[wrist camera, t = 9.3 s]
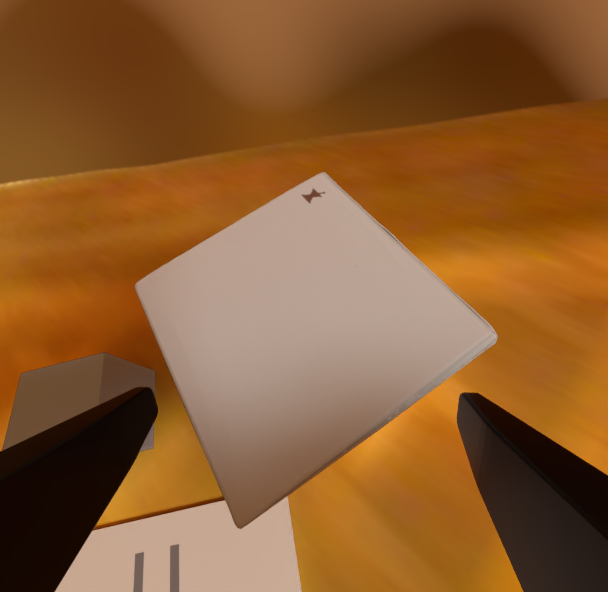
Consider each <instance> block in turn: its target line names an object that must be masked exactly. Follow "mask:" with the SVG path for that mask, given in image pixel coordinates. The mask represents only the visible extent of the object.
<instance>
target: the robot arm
mask: <svg viewBox="0 0 608 592" xmlns="http://www.w3.org/2000/svg"><path fill="white" fill-rule="evenodd" d="M157 414H158V407H157V403H156V400H155V396H154V393H153V390H152V389H151V388H150V387H136V388H133V389H131V390H129V391H127V392H125V393H123V394H121V395H119V396H116V397H114V398H112V399H110V400H108V401H106V402H104V403H102V404H100V405H97V406H95V407H93V408H91V409H89V410H87V411H85V412H83V413H81V414H78V415H76V416H74V417H72V418H70V419H68V420H66V421H64V422H62V423H59V424H57V425H55V426H53V427H51V428H49V429H47V430H45V431H43V432H40V433H38V434H36V435H34V436H32V437H30V438H28V439H26V440H24V441H21V442H19V443H17V444H15V445H13V446H11V447H9V448H7V449H5V450H2V451H0V592H55V591H56V589H57V588H58V586H59V584H60V583H61V581H62V579H63V578H64V576H65V574H66V573H67V571H68V570H69V568H70V566H71V565H72V563H73V561H74V560H75V558H76V557H77V555H78V553H79V552H80V550H81V548H82V547H83V545H84V543H85V542H86V540H87V539H88V537H89V535H90V534H91V532H92V530H93V529H94V527H95V526H96V524H97V522H98V521H99V519H100V517H101V516H102V514H103V513H104V511H105V509H106V508H107V506H108V504H109V503H110V501H111V499H112V498H113V496H114V495H115V493H116V491H117V490H118V488H119V486H120V485H121V483H122V482H123V480H124V478H125V477H126V475H127V473H128V472H129V470H130V468H131V467H132V465H133V463H134V461H135V459H136V457H137V455H138V453H139V451H140V449H141V447H142V445H143V443H144V441H145V439H146V437H147V435H148V433H149V431H150V429H151V427H152V425H153V423H154V421H155V419H156V417H157ZM457 424H458V428H459V431H460V435H461V438H462V441H463V444H464V447H465V450H466V453H467V456H468V459H469V462H470V466H471V469H472V472H473V475H474V478H475V481H476V484H477V486H478V489H479V491H480V493H481V496H482V498H483V500H484V503H485V505H486V507H487V510H488V512H489V514H490V516H491V519H492V521H493V523H494V525H495V528H496V530H497V532H498V535H499V537H500V539H501V541H502V544H503V546H504V548H505V550H506V553H507V555H508V557H509V560H510V562H511V564H512V566H513V569H514V571H515V573H516V575H517V578H518V580H519V582H520V584H521V587H522V589H523V591H524V592H608V475H606V474H605V473H603V472H602V471H600V470H598V469H597V468H595V467H594V466H592V465H591V464H589V463H587V462H586V461H584V460H583V459H581V458H579V457H578V456H576V455H575V454H573V453H572V452H570V451H568V450H567V449H565V448H564V447H562V446H561V445H559V444H557V443H556V442H554V441H553V440H551V439H550V438H548V437H546V436H545V435H543V434H542V433H540V432H539V431H537V430H535V429H534V428H532V427H531V426H529V425H528V424H526V423H524V422H523V421H521V420H520V419H518V418H517V417H515V416H513V415H512V414H510V413H509V412H507V411H506V410H504V409H502V408H501V407H499V406H498V405H496V404H495V403H493V402H491V401H490V400H488V399H487V398H485V397H484V396H482V395H480V394H479V393H461V394H460V397H459V404H458V412H457Z"/></svg>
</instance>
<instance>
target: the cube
mask: <svg viewBox="0 0 608 592" xmlns="http://www.w3.org/2000/svg"><path fill="white" fill-rule="evenodd" d="M155 373H156V371H154V370H152V369H149V368H146V367H143V366H141V365H138V364H135V363H133V362H130V361H127V360H124V359H122V358H119V357H116V356H113V355H111V354H108V353H105V352H104V353H100V354H96V355H92V356H88V357H84V358H80V359H76V360H72V361H68V362H64V363H60V364H56V365H52V366H48V367H44V368H40V369H36V370H32V371H28V372H24V373H21V375H20V379H19V383H18V387H17V391H16V396H15V400H14V404H13V408H12V412H11V416H10V420H9V424H8V428H7V432H6V437H5V441H4V445H3V449H2V450H5V449H7V448H9V447H11V446H13V445H15V444H17V443H19V442H21V441H24V440H26V439H28V438H30V437H32V436H34V435H36V434H38V433H40V432H43V431H45V430H47V429H49V428H51V427H53V426H55V425H57V424H59V423H62V422H64V421H66V420H68V419H70V418H72V417H74V416H76V415H78V414H81V413H83V412H85V411H87V410H89V409H91V408H93V407H95V406H97V405H100V404H102V403H104V402H106V401H108V400H110V399H112V398H114V397H116V396H119V395H121V394H123V393H125V392H127V391H129V390H131V389H133V388H136V387H150V388H151V389H152V390H153V393H154V396H155ZM153 443H154V423H153V425H152V427H151V429H150V431H149V433H148V435H147V437H146V439H145V441H144V443H143V445H142V447H141V449H140V451H144V450H148V449H153ZM140 451H139V452H140Z"/></svg>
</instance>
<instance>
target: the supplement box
mask: <svg viewBox="0 0 608 592" xmlns="http://www.w3.org/2000/svg"><path fill="white" fill-rule="evenodd" d="M134 288H135V290H136V293H137V295H138V298H139V300H140V302H141V305H142V307H143V310H144V312H145V314H146V317H147V319H148V322H149V324H150V327H151V329H152V331H153V334H154V336H155V338H156V341H157V343H158V345H159V348H160V350H161V353H162V355H163V357H164V360H165V362H166V364H167V367H168V369H169V371H170V374H171V376H172V378H173V381H174V383H175V385H176V388H177V390H178V392H179V395H180V397H181V400H182V402H183V404H184V407H185V409H186V411H187V414H188V416H189V418H190V421H191V423H192V425H193V428H194V430H195V432H196V434H197V437H198V439H199V441H200V444H201V446H202V448H203V450H204V453H205V455H206V457H207V460H208V462H209V464H210V466H211V469H212V471H213V473H214V476H215V478H216V480H217V483H218V485H219V488H220V490H221V492H222V495H223V497H224V499H225V501H226V503H227V506H228V508H229V511H230V513H231V516H232V518H233V521H234V523H235V525H236V527H237V528H239V529H242V528H243V527H245V526H246V525H248V524H249V523H251V522H252V521H254V520H255V519H256V518H258V517H259V516H260V515H262V514H263V513H265V512H266V511H267V510H269V509H270V508H272V507H273V506H274V505H276V504H277V503H279V502H280V501H281V500H283V499H284V498H285V497H287V496H288V495H290V494H291V493H292V492H294V491H295V490H297V489H298V488H299V487H301V486H302V485H303V484H305V483H306V482H308V481H309V480H310V479H312V478H313V477H315V476H316V475H317V474H319V473H320V472H322V471H323V470H324V469H326V468H327V467H328V466H330V465H331V464H333V463H334V462H335V461H337V460H338V459H339V458H341V457H342V456H344V455H345V454H346V453H348V452H349V451H350V450H352V449H353V448H355V447H356V446H357V445H359V444H360V443H362V442H363V441H364V440H366V439H367V438H368V437H370V436H371V435H373V434H374V433H375V432H377V431H378V430H379V429H381V428H382V427H384V426H385V425H386V424H388V423H389V422H390V421H392V420H393V419H394V418H396V417H397V416H398V415H400V414H401V413H402V412H404V411H405V410H406V409H408V408H409V407H410V406H412V405H413V404H414V403H416V402H417V401H418V400H420V399H421V398H422V397H424V396H425V395H426V394H428V393H429V392H430V391H432V390H433V389H434V388H436V387H437V386H438V385H440V384H441V383H442V382H444V381H445V380H447V379H448V378H449V377H451V376H452V375H453V374H455V373H456V372H457V371H459V370H460V369H461V368H463V367H464V366H465V365H467V364H468V363H469V362H471V361H472V360H473V359H475V358H476V357H477V356H479V355H480V354H481V353H483V352H484V351H485V350H487V349H488V348H489V347H491V346H492V345H493V344H495V342H496V341H497V338H498V337H497V334H496V332H495V331H494V329H493V328H492V326H491V325H490V324H489V323H488V322H487V321H486V320H485V319H483V318H482V317H481V316H480V315H479V314H478V313H477V312H476V311H475V310H474V309H473V308H472V307H470V306H469V305H468V304H467V303H466V302H465V301H464V300H463V299H462V298H460V297H459V296H458V295H457V294H456V293H455V292H453V291H452V290H451V289H450V288H449V287H448V286H447V285H446V284H445V283H444V282H443V281H442V280H441V279H440V278H438V277H437V276H436V275H435V274H434V273H433V272H432V271H431V270H430V269H429V268H428V267H427V266H425V265H424V264H423V263H422V262H421V261H420V260H419V259H418V258H417V257H416V256H414V255H413V254H412V253H411V252H410V251H409V250H408V249H407V248H406V247H405V246H404V245H403V244H402V243H401V242H400V241H399V240H398V239H397V238H396V237H395V236H394V235H393V234H392V233H390V232H389V231H388V230H387V229H386V228H385V227H383V226H382V225H381V224H380V223H379V222H377V221H376V220H375V219H374V218H373V217H372V216H371V215H370V214H369V213H368V212H367V211H365V210H364V209H363V208H362V207H361V206H360V205H359V204H358V203H357V202H356V201H355V200H353V199H352V198H351V197H350V196H349V195H348V194H347V193H346V192H345V191H344V190H343V189H342V188H341V187H339V186H338V185H337V184H336V183H335V182H334V181H333V180H332V179H331V178H330V177H329V176H328V175H327V174H326V173H324V172H321V173H319V174H318V175H316V176H314V177H312V178H310V179H308V180H306V181H305V182H303V183H301V184H299V185H297V186H296V187H294V188H292V189H290V190H289V191H287V192H285V193H283V194H282V195H280V196H278V197H277V198H275V199H273V200H272V201H270V202H268V203H267V204H265V205H263V206H262V207H260V208H258V209H257V210H255V211H253V212H252V213H250V214H248V215H246V216H245V217H243V218H241V219H240V220H238V221H237V222H235V223H233V224H232V225H230V226H228V227H227V228H225V229H223V230H222V231H220V232H218V233H216V234H215V235H213V236H211V237H210V238H208V239H206V240H205V241H203V242H201V243H200V244H198V245H196V246H195V247H193V248H191V249H190V250H188V251H186V252H185V253H183V254H182V255H180V256H178V257H176V258H174V259H173V260H171V261H170V262H168V263H166V264H164V265H162V266H161V267H159V268H158V269H156V270H154V271H153V272H151V273H150V274H148V275H147V276H145V277H144V278H143V279H141V280H140V281H138V282H137V283H136V284H135V286H134Z"/></svg>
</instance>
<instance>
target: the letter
mask: <svg viewBox="0 0 608 592" xmlns="http://www.w3.org/2000/svg"><path fill="white" fill-rule="evenodd" d="M55 592H302V590H301V583H300V576H299V570H298V563H297V556H296V550H295V543H294V536H293V530H292V523H291V516H290V509H289V503H288V496H287V497H285V498H284V499H283V500H281V501H280V502H279V503H277V504H276V505H274V506H273V507H272V508H270V509H269V510H267V511H266V512H265V513H263V514H262V515H260V516H259V517H258V518H256V519H255V520H254V521H252V522H251V523H249V524H248V525H246V526H245V527H243V528H242V529H239V528H237V527H236V525H235V523H234V521H233V518H232V516H231V513H230V511H229V508H228V506H227V503H226V501H225V500H223V501H218V502H214V503H210V504H205V505H201V506H197V507H192V508H188V509H184V510H179V511H175V512H171V513H166V514H162V515H158V516H153V517H149V518H145V519H140V520H136V521H132V522H127V523H123V524H119V525H114V526H110V527H106V528H101V529H97V530H93V531H92V532H91V534H90V535H89V537H88V539H87V540H86V542H85V543H84V545H83V547H82V548H81V550H80V552H79V553H78V555H77V557H76V558H75V560H74V561H73V563H72V565H71V566H70V568H69V570H68V571H67V573H66V574H65V576H64V578H63V579H62V581H61V583H60V584H59V586H58V588H57V589H56V591H55Z"/></svg>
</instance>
